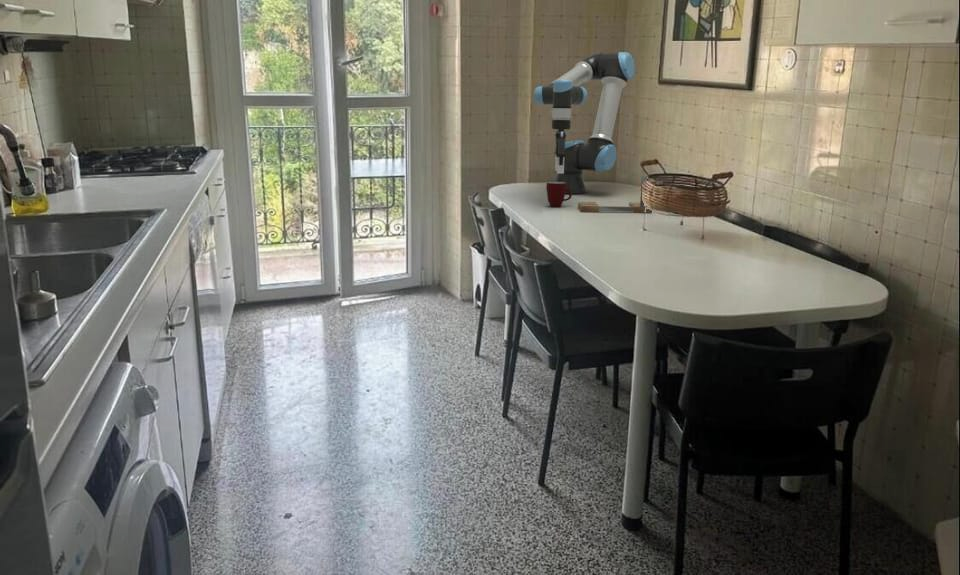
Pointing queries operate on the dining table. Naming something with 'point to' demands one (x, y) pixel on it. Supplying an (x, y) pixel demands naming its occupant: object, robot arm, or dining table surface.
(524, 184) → the dining table surface
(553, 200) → the mug
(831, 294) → the dining table surface
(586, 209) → the wooden stand
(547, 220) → the dining table surface
